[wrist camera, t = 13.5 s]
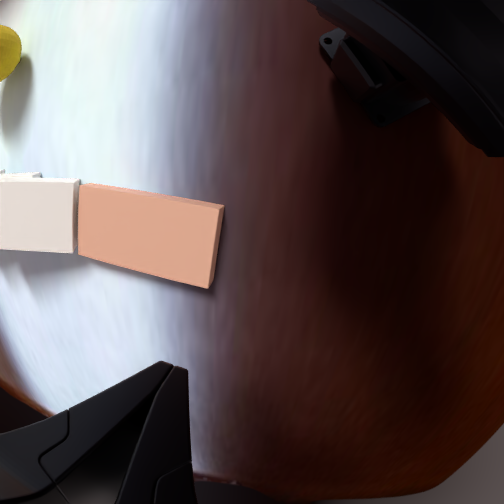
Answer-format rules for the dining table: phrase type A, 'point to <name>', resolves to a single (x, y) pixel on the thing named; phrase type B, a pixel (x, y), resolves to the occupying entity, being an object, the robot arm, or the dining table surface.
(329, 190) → the dining table surface
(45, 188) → the tile
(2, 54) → the lemon
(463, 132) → the robot arm
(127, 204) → the tile
